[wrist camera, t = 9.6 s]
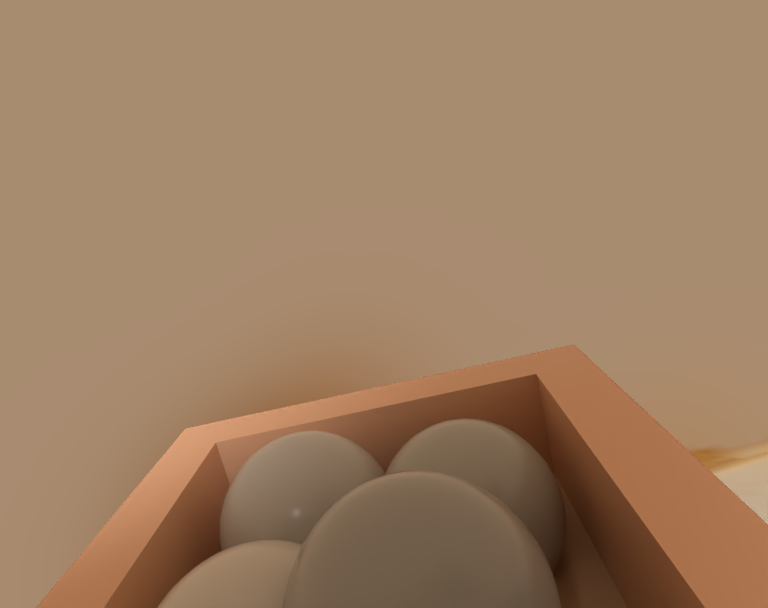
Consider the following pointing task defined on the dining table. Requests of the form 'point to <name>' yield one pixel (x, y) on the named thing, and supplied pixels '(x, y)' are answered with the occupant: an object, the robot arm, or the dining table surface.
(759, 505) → the dining table surface
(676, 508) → the peach box
